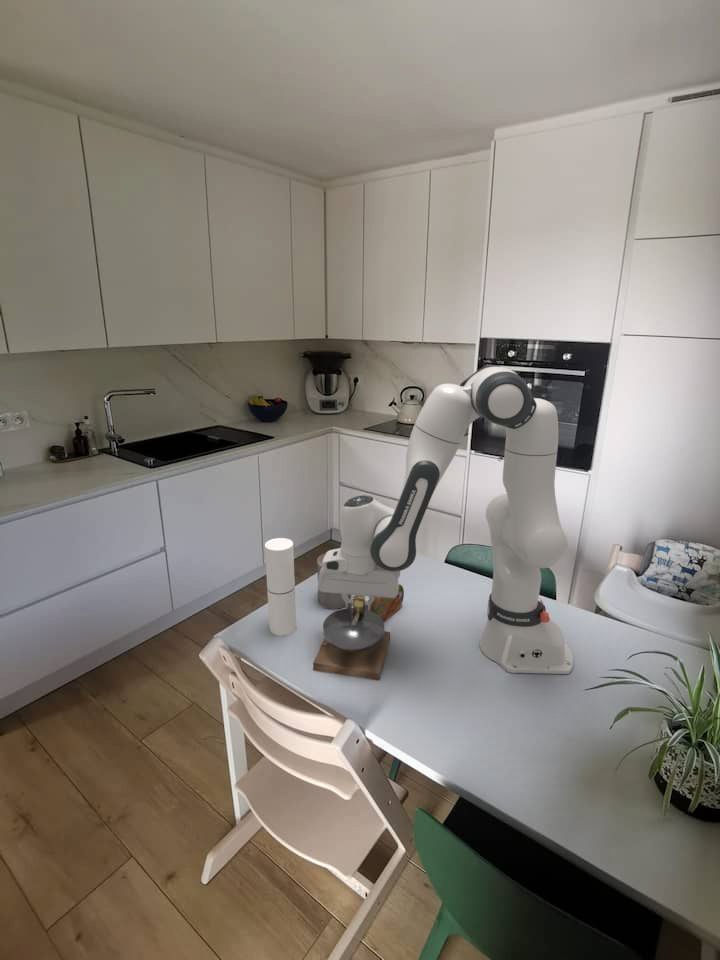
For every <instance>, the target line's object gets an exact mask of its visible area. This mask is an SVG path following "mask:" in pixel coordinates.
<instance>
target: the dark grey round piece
mask: <svg viewBox="0 0 720 960" xmlns="http://www.w3.org/2000/svg"><path fill="white" fill-rule="evenodd" d="M352 598H353V599H352V608H346V607H345V608H340V609H339V610H336V611H334V612H332V613H330V614H329V615H328V616H327V617H326V618H325V619H324V621H323V624H322V635H323V638H324V639H325V640H326V642H327V643H328V644H329V645H331V646H332V647H334V648H336V649H339V650H342V651H347V652H360V651H365V650H369V649H371V648H373V647H375V646H377V645H378V644H379V643H380V642H381V641H382V639H383V637H384V631H385V622H383V620H382V619H381V618H380V617H379V616H378V615H377V614H376V613H374V612H372V611H369V610H364V603H365V601H366V596H361V595H353V597H352ZM324 639H323V640H324Z"/></svg>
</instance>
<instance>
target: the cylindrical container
mask: <svg viewBox="0 0 720 960" xmlns="http://www.w3.org/2000/svg"><path fill="white" fill-rule="evenodd" d="M264 554H265V572H266V588H267V589H266V590H267V591H266V592H267V593H266V594H267V604H268V605H267V607H268V622H269V623H268V624H269V625H268V626H269V632H270V633H271V634H272V635H274V636H278V637H279V636H280V637H283V636H288V635H291V634H293V633H295V631H296V630H297V611H296V609H297V608H296V585H295V584H296V583H295V581H296V580H295V559H294V558H295V557H294V555H295V554H294V542H293V540H291V539H289V538H285V537H276V538H272V539H269V540H267V541H265V543H264Z"/></svg>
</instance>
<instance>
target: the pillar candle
mask: <svg viewBox="0 0 720 960" xmlns="http://www.w3.org/2000/svg"><path fill="white" fill-rule="evenodd" d="M326 553H327V552H325V553H322V554H321V555H319V556H318V557H317V560H316V563H317V564H316V565H317V567H316V568H317V579H318V578H319V573H320V570H321V568H322V561H323V558H324V556H325V554H326ZM347 596H348V597H349V599H352V595H350V594H347ZM317 597H318V598H317V601H318V603H319V605H320V606H321V607H322V606H323V608H324V609H329V610H335V609H336V610H337V609H344V608H346V603H345V602H344V600H343V599H342V597H341V594H339V593H328V592H321V591H320V590H319V589H318V588H317Z"/></svg>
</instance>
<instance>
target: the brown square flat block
mask: <svg viewBox="0 0 720 960" xmlns="http://www.w3.org/2000/svg"><path fill="white" fill-rule="evenodd" d="M390 640H391V631H385V630H384V637H383V639H382V641H381V642H380V643H379V644H378V645H377V646H375V647H373V648H371V649H369V650H365V651H360V652H347V651H342V650H339V649H336V648H334V647H332V646H331V645H329V644H328V643H327V642H326V640H325V639H323V641H322V642H321V645H320V647H319V649H318V651H317V654H316V655H315V658H314V660H313V662H312V665H313V667H312V668H313V669H312V670H313V671H318V672H319V671H320V672H325V673H331V674H338V675H344V676H348V677H349V676H350V677H356V678H361V679H362V678H363V679H368V680H374V681H380V678H381V675H382V671H383V668H384V667H383V666H384V663H385V660H386V655H387V653H388V652H387V651H388V647H389V644H390Z"/></svg>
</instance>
